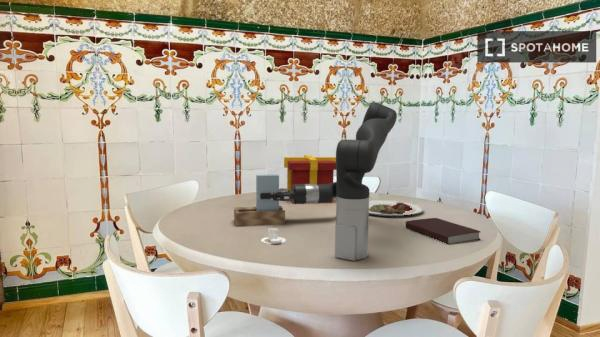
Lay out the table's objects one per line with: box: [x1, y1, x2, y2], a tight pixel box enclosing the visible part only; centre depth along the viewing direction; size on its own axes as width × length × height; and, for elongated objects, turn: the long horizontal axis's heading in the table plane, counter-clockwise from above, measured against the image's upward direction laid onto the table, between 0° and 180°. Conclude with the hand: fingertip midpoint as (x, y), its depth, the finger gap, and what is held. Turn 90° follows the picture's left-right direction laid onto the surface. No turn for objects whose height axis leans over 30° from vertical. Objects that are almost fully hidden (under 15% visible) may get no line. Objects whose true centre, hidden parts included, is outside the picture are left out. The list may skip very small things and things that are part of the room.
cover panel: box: [255, 173, 280, 211], centre depth 162 cm, size 8×3×18 cm, turn 103°
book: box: [405, 217, 481, 245], centre depth 150 cm, size 14×22×4 cm, turn 23°
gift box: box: [283, 154, 336, 205], centre depth 209 cm, size 25×25×20 cm
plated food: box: [369, 199, 425, 217], centre depth 187 cm, size 30×30×3 cm
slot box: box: [233, 205, 286, 227], centre depth 164 cm, size 18×9×5 cm, turn 102°
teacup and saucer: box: [260, 227, 287, 245], centre depth 140 cm, size 9×8×4 cm
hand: (260, 195), depth 161 cm, fingers closed on cover panel, 3 cm apart
